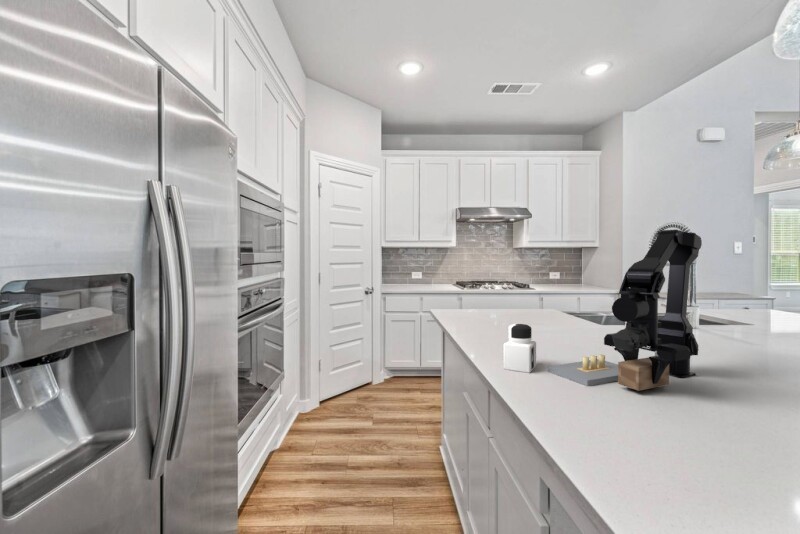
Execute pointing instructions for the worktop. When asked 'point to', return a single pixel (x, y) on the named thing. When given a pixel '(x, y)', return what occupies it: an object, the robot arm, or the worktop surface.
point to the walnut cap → (640, 374)
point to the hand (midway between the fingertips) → (643, 380)
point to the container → (519, 349)
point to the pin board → (588, 371)
